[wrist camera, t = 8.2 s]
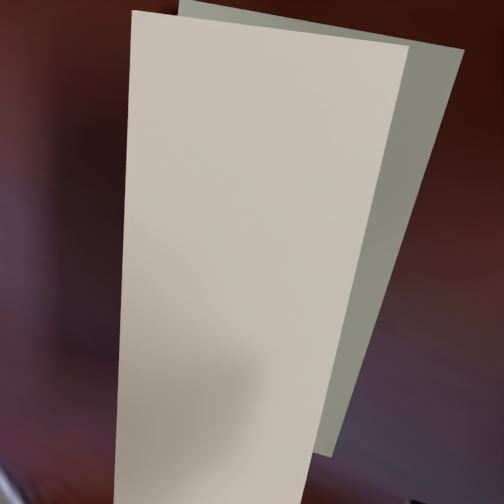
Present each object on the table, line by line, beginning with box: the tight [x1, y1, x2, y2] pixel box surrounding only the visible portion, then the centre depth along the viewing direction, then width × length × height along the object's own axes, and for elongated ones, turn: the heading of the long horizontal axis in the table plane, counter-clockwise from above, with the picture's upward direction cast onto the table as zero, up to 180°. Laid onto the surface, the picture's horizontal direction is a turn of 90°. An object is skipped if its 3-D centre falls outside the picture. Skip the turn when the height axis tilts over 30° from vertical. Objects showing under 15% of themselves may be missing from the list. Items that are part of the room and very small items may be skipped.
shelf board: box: [114, 10, 409, 504], centre depth 14 cm, size 16×6×3 cm, turn 172°
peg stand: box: [178, 0, 464, 457], centre depth 18 cm, size 18×10×5 cm, turn 169°
